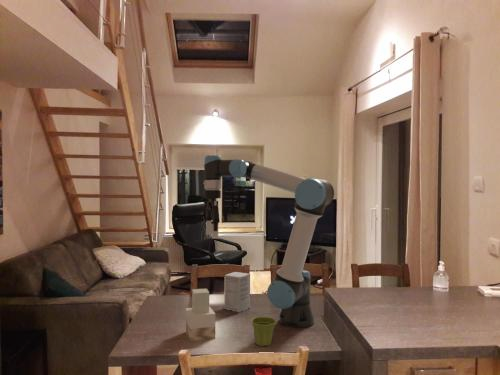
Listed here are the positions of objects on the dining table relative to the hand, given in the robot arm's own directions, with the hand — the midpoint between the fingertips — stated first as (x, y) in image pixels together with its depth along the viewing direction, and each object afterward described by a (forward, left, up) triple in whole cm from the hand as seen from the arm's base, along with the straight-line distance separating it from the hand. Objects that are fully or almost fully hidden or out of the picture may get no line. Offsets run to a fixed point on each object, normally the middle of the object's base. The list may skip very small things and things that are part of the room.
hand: (211, 236), depth 183 cm
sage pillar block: (-8, +20, -27) cm, 35 cm away
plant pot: (-34, +15, -37) cm, 52 cm away
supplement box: (-4, -17, -37) cm, 41 cm away
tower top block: (-8, +20, -32) cm, 39 cm away
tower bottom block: (-8, +20, -37) cm, 43 cm away
